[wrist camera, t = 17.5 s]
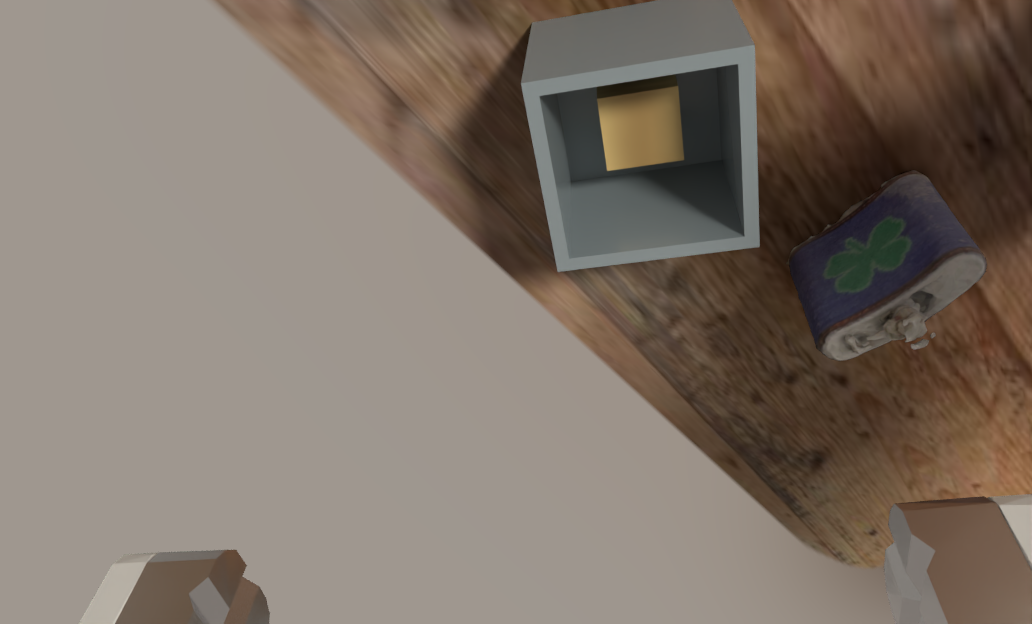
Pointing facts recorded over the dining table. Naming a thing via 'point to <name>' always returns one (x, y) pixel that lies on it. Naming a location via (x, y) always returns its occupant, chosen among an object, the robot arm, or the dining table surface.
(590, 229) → the grey open box
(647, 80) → the block
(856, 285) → the flask
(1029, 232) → the dining table surface
